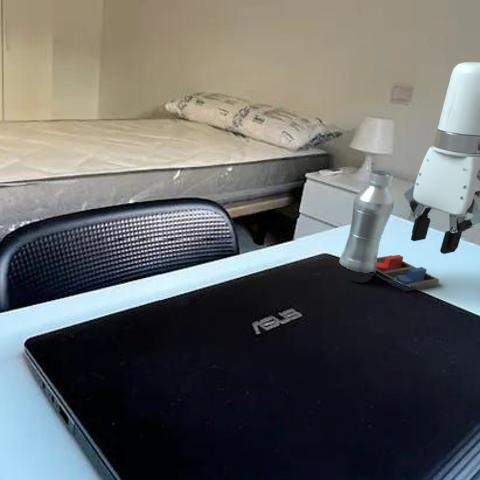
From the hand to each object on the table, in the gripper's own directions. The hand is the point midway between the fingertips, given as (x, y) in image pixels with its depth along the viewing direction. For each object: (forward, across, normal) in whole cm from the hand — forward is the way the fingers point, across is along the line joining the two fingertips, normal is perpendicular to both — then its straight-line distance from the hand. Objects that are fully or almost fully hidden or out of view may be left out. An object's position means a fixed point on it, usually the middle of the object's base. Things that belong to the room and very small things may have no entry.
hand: (432, 244), depth 88 cm
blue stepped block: (+7, +1, +2) cm, 8 cm away
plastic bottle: (+8, +6, +11) cm, 15 cm away
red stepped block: (+7, +6, +2) cm, 10 cm away
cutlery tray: (+8, +4, +2) cm, 9 cm away
